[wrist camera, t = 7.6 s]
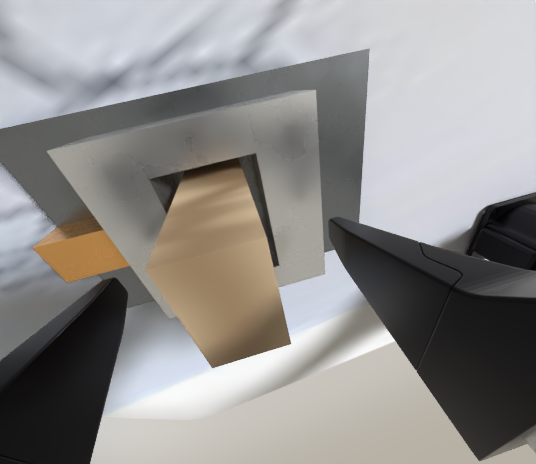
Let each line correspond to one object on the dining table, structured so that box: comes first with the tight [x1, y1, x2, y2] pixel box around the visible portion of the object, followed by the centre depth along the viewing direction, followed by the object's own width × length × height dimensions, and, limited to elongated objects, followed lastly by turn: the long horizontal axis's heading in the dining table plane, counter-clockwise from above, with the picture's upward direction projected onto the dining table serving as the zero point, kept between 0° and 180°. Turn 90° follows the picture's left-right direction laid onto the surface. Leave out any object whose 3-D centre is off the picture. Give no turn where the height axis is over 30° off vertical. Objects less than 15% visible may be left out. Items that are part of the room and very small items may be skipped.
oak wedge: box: [145, 159, 291, 368], centre depth 10 cm, size 3×5×8 cm, turn 11°
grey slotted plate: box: [0, 49, 369, 319], centre depth 12 cm, size 18×12×4 cm, turn 101°
